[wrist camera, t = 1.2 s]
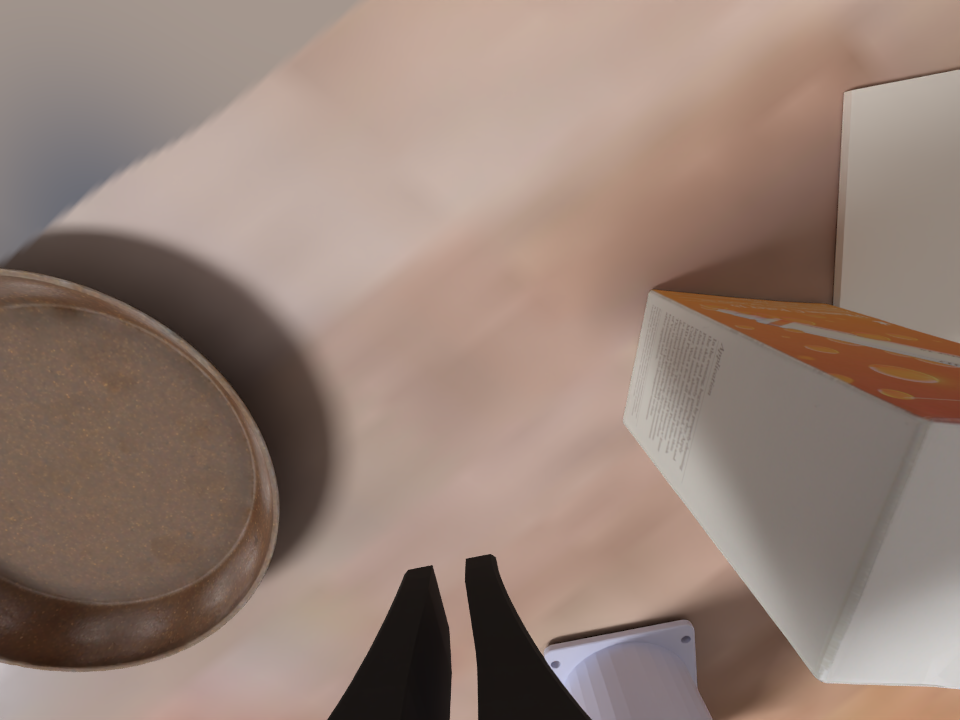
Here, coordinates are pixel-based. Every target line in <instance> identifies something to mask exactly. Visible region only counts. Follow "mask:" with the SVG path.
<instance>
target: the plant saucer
mask: <svg viewBox="0 0 960 720" xmlns="http://www.w3.org/2000/svg"><path fill="white" fill-rule="evenodd" d="M279 515H280V509H279V491H278V485H277V479H276V475H275V471H274V466H273V463H272V460H271V457H270V454H269V451H268V449H267V446H266V443H265V440H264V438H263V436H262V434H261V432H260V430H259V428H258V426H257V424H256V423H255V421H254V419H253V417H252V415H251V414H250V412H249V410H248V408H247V407H246V405H245V404H244V402H243V401H242V399H241V398H240V396H239V395H238V394H237V392H236V391H235V390H234V388H233V387H232V386H231V385H230V383H229V382H228V381H227V380H226V378H225V377H224V376H223V375H222V374H221V373H220V372H219V371H218V370H217V369H216V367H215V366H214V365H213V364H212V363H211V362H210V361H209V360H208V359H207V358H206V357H205V356H204V355H203V354H201V353H200V352H199V351H198V350H197V349H195V348H194V347H193V346H192V345H191V344H190V343H188V342H187V341H186V340H185V339H183V338H182V337H181V336H180V335H178V334H177V333H175V332H174V331H172V330H171V329H170V328H168V327H167V326H165V325H164V324H162V323H161V322H159V321H158V320H156V319H154V318H152V317H151V316H149V315H147V314H145V313H144V312H142V311H140V310H138V309H136V308H134V307H132V306H130V305H128V304H126V303H124V302H122V301H120V300H118V299H116V298H114V297H111V296H109V295H107V294H104V293H102V292H99V291H97V290H94V289H92V288H89V287H86V286H83V285H80V284H77V283H74V282H71V281H68V280H64V279H60V278H57V277H53V276H49V275H44V274H40V273H34V272H29V271H22V270H13V269H1V268H0V662H1V663H5V664H9V665H18V666H21V667H26V668H33V669H40V670H49V671H66V672H89V671H106V670H114V669H122V668H128V667H133V666H138V665H142V664H145V663H149V662H153V661H156V660H160V659H163V658H166V657H169V656H171V655H174V654H176V653H178V652H180V651H183V650H185V649H187V648H189V647H191V646H193V645H195V644H197V643H198V642H200V641H202V640H203V639H205V638H207V637H208V636H210V635H211V634H213V633H214V632H216V631H217V630H219V629H220V628H221V627H222V626H223V625H225V624H226V623H227V622H228V621H229V620H230V619H231V618H233V617H234V615H235V614H236V613H237V612H238V611H239V610H240V609H241V608H242V607H243V606H244V605H245V604H246V603H247V601H248V600H249V599H250V598H251V596H252V595H253V593H254V592H255V591H256V589H257V587H258V586H259V584H260V582H261V581H262V579H263V577H264V575H265V573H266V571H267V569H268V567H269V564H270V561H271V558H272V556H273V553H274V549H275V545H276V541H277V534H278V528H279Z"/></svg>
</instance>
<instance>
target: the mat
mask: <svg viewBox="0 0 960 720" xmlns="http://www.w3.org/2000/svg"><path fill="white" fill-rule="evenodd" d="M833 306H836V307H840V308H843V309H847V310H850V311H853V312H857V313H860V314H864V315H867V316H870V317H874V318H877V319H881V320H883V321H886V322H889V323H892V324H896V325H899V326H902V327H905V328H909V329H912V330H915V331H919V332H922V333H926V334H929V335H933V336H936V337H940V338H943V339H946V340H950V341H953V342H957V343H960V70H954V71H949V72H944V73H939V74H934V75H928V76H923V77H918V78H913V79H908V80H903V81H897V82H892V83H887V84H882V85H877V86H871V87H866V88H861V89H856V90H851V91H847V92H844V102H843V121H842V140H841V160H840V179H839V199H838V218H837V237H836V257H835V276H834V296H833Z"/></svg>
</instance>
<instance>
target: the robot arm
mask: <svg viewBox="0 0 960 720" xmlns="http://www.w3.org/2000/svg"><path fill="white" fill-rule="evenodd" d="M465 583H466V590H467V597H468V603H469V610H470V616H471V623H472V630H473V636H474V643H475V649H476V659H477V675H478V720H713V719H712V717H711V715H710V713H709V711H708V709H707V707H706V705H705V703H704V701H703V699H702V697H701V695H700V693H699V691H698V687H697V669H696V650H695V631H694V627H693V625H692V624H691V622H690V621H688V620H678V621H673V622H668V623H662V624H657V625H652V626H647V627H642V628H636V629H631V630H626V631H621V632H616V633H610V634H605V635H600V636H595V637H590V638H584V639H579V640H574V641H569V642H564V643H558V644H553V645H550V646H548V647H547V648H545V650H544V657H545V658H544V657H543V655H542V654H541V652H540V651H539V649H538V648H537V646H536V644H535V643H534V641H533V640H532V638H531V636H530V635H529V633H528V631H527V630H526V628H525V626H524V625H523V623H522V621H521V619H520V617H519V615H518V614H517V612H516V610H515V608H514V606H513V604H512V602H511V600H510V598H509V596H508V594H507V591H506V589H505V587H504V584H503V582H502V579H501V577H500V574H499V570H498V566H497V561H496V557H494V556H493V555H491V554H488V555H483V556H478V557H473V558H468V559H466V567H465ZM554 661H555V662H554ZM451 678H452V670H451V650H450V633H449V626H448V622H447V618H446V615H445V611H444V607H443V603H442V599H441V596H440V592H439V588H438V584H437V580H436V577H435V573H434V569H433V565H431V566H426V567H421V568H416V569H410V570H408V571H407V572H406V573H405V575H404V577H403V580H402V582H401V585H400V587H399V589H398V592H397V594H396V596H395V599H394V601H393V603H392V605H391V607H390V610H389V612H388V614H387V616H386V618H385V620H384V622H383V624H382V626H381V628H380V630H379V632H378V634H377V636H376V638H375V640H374V642H373V644H372V646H371V648H370V650H369V652H368V653H367V655H366V657H365V659H364V661H363V662H362V664H361V666H360V668H359V669H358V671H357V673H356V675H355V676H354V678H353V680H352V682H351V683H350V685H349V687H348V688H347V690H346V692H345V693H344V695H343V696H342V698H341V700H340V701H339V703H338V704H337V706H336V707H335V709H334V710H333V712H332V713H331V715H330V716H329V718H328V719H327V720H450V700H451Z"/></svg>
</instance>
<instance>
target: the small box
mask: <svg viewBox="0 0 960 720" xmlns="http://www.w3.org/2000/svg"><path fill="white" fill-rule="evenodd" d="M623 423H624V424H625V426H626V427H627V428H628V430H629V431H630V432H631V434H632V435H633V436H634V438H635V439H636V440H637V442H638V443H639V444H640V446H641V447H642V448H643V450H644V451H645V452H646V453H647V455H648V456H649V457H650V459H651V460H652V461H653V463H654V464H655V466H656V467H657V468H658V470H659V471H660V472H661V473H662V475H663V476H664V477H665V479H666V480H667V482H668V483H669V484H670V485H671V487H672V488H673V489H674V491H675V492H676V493H677V494H678V496H679V497H680V498H681V500H682V501H683V502H684V504H685V505H686V506H687V507H688V509H689V510H690V511H691V513H692V514H693V515H694V517H695V518H696V519H697V521H698V522H699V524H700V525H701V526H702V527H703V529H704V530H705V531H706V533H707V534H708V536H709V537H710V538H711V540H712V541H713V542H714V544H715V545H716V546H717V547H718V549H719V550H720V551H721V553H722V554H723V555H724V557H725V558H726V559H727V560H728V562H729V563H730V564H731V566H732V567H733V568H734V570H735V571H736V572H737V574H738V575H739V576H740V578H741V579H742V580H743V581H744V583H745V584H746V585H747V587H748V588H749V589H750V591H751V592H752V593H753V595H754V596H755V597H756V599H757V600H758V601H759V603H760V604H761V605H762V607H763V608H764V609H765V610H766V612H767V613H768V614H769V616H770V617H771V619H772V620H773V621H774V623H775V624H776V625H777V626H778V628H779V629H780V630H781V631H782V633H783V634H784V636H785V637H786V638H787V640H788V641H789V642H790V644H791V645H792V646H793V648H794V649H795V651H796V652H797V653H798V655H799V656H800V657H801V659H802V660H803V662H804V663H805V664H806V666H807V667H808V668H809V670H810V671H811V672H812V674H813V675H814V677H815V678H817V679H818V680H820V681H821V682H824V683H843V684H865V685H890V686H929V687H942V688H953V689H960V343H957V342H953V341H950V340H946V339H943V338H940V337H936V336H933V335H929V334H926V333H922V332H919V331H915V330H912V329H909V328H905V327H902V326H899V325H896V324H892V323H889V322H886V321H883V320H881V319H877V318H874V317H870V316H867V315H864V314H860V313H857V312H853V311H850V310H847V309H843V308H840V307H836V306H833V305H829V304H825V303H799V302H783V301H770V300H759V299H746V298H734V297H724V296H714V295H704V294H693V293H684V292H674V291H663V290H656V289H652V290H650V292H649V293H648V298H647V304H646V309H645V314H644V319H643V324H642V328H641V333H640V338H639V343H638V348H637V353H636V358H635V363H634V367H633V372H632V376H631V382H630V387H629V392H628V397H627V403H626V407H625V412H624V417H623Z"/></svg>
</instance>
